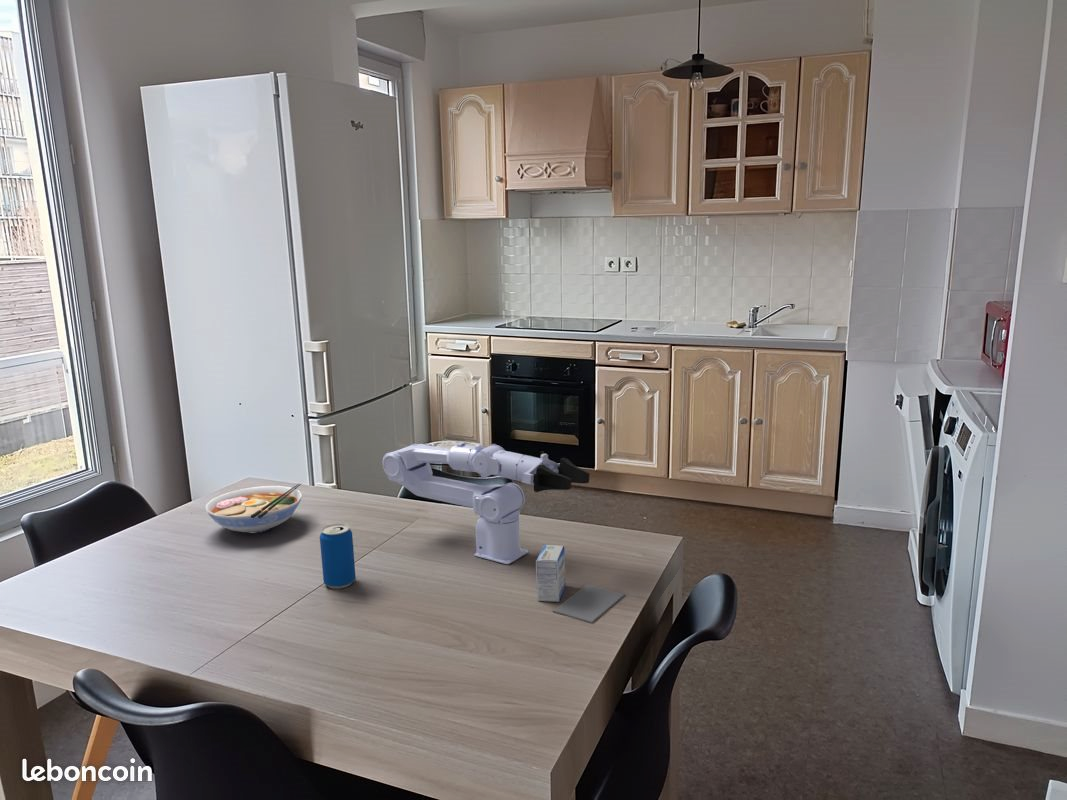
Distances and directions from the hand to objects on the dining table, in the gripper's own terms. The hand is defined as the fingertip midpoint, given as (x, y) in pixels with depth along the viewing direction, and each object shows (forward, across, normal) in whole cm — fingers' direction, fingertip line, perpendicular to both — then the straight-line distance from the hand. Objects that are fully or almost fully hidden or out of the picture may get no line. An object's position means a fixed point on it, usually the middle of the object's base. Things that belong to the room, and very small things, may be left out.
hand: (579, 481), depth 156 cm
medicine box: (0, -8, +22) cm, 23 cm away
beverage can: (-40, -26, +26) cm, 54 cm away
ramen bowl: (-82, -14, +27) cm, 87 cm away
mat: (+9, -8, +21) cm, 24 cm away
